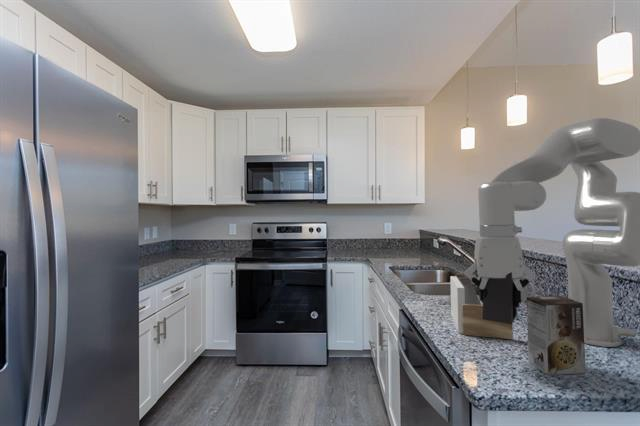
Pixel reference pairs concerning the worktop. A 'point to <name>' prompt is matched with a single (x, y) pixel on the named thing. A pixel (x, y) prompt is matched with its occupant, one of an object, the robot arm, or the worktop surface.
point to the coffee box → (556, 335)
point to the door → (483, 324)
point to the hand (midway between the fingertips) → (499, 304)
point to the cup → (525, 291)
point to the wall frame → (457, 302)
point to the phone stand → (499, 300)
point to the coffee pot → (467, 291)
